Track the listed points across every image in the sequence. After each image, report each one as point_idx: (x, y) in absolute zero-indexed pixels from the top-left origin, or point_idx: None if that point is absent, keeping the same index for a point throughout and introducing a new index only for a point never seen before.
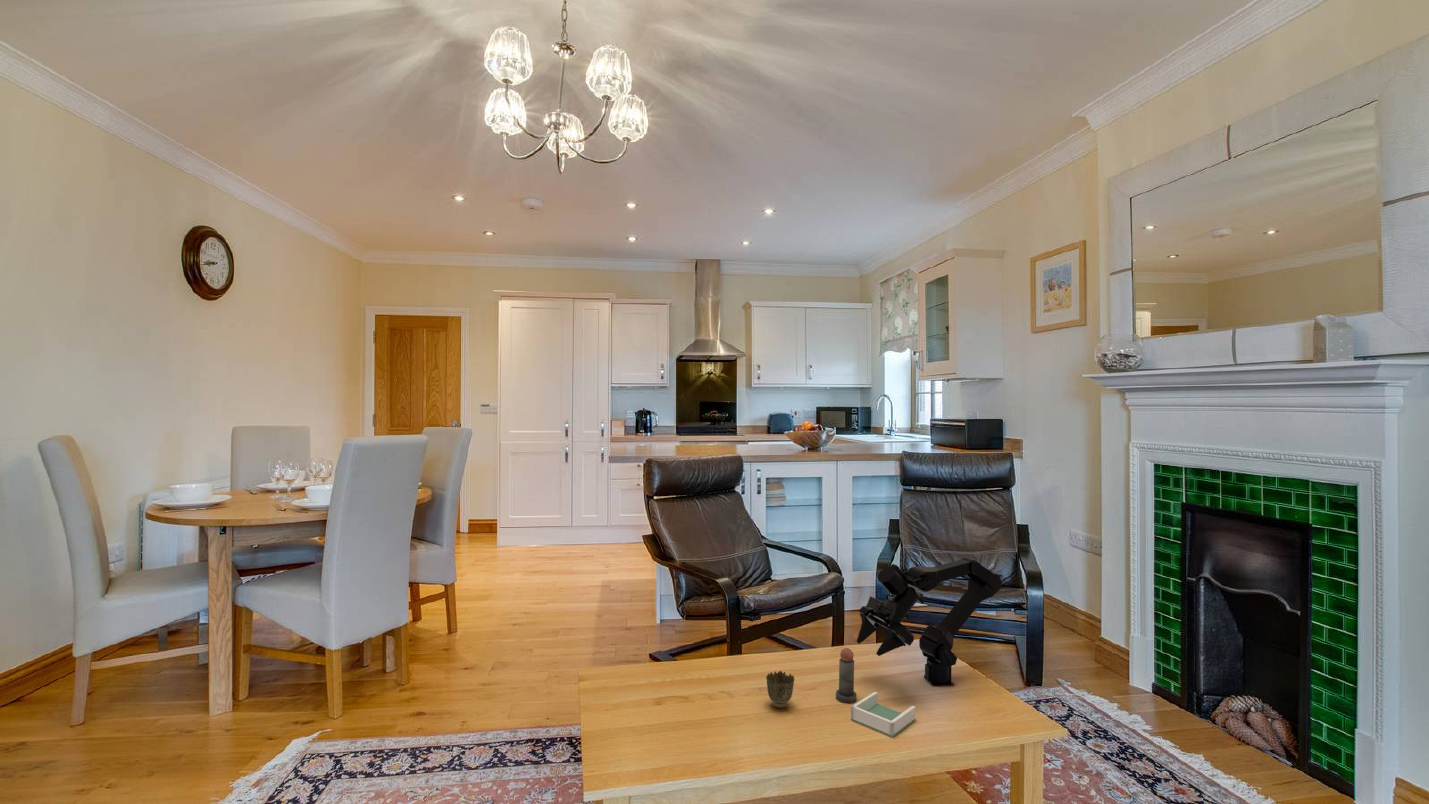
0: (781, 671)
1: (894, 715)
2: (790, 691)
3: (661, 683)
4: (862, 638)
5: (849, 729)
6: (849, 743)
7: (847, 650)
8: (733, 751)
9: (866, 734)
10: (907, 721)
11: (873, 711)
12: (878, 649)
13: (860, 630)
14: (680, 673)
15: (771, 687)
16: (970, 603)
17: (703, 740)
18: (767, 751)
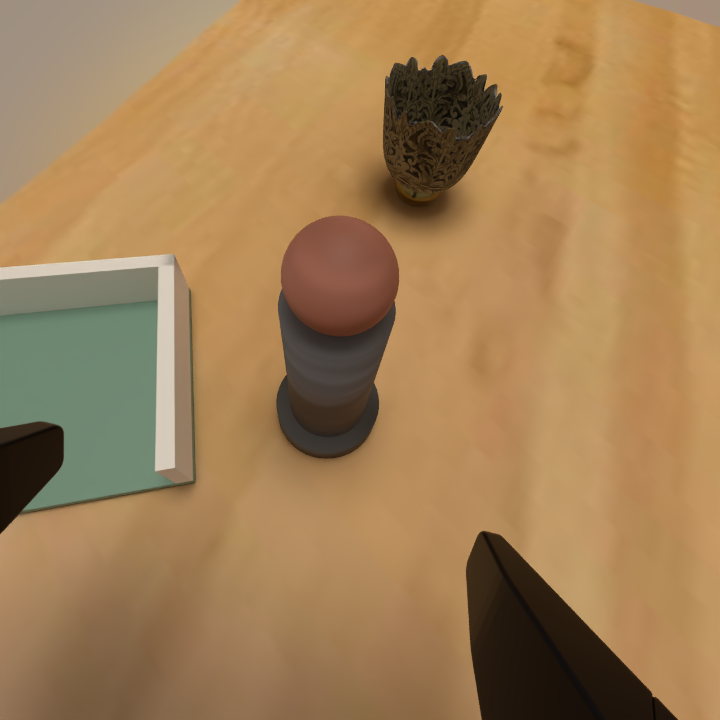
0: (490, 120)
1: None
2: (384, 132)
3: (663, 87)
4: (490, 640)
5: (155, 244)
6: (104, 189)
7: (322, 226)
8: (299, 26)
9: None
10: None
11: (147, 401)
12: (3, 440)
13: (628, 682)
14: (717, 137)
15: (425, 85)
16: None
17: (372, 19)
18: (249, 57)
